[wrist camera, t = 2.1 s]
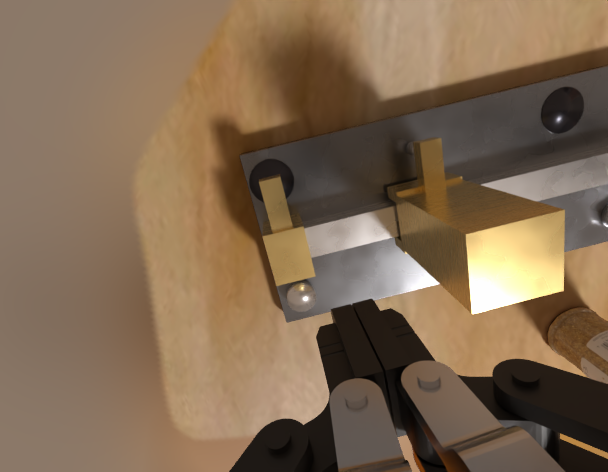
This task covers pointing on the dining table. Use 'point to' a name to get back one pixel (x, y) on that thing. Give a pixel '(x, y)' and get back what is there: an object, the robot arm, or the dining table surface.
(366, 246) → the metal base plate
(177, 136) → the dining table surface
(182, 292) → the dining table surface
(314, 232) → the beam
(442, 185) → the block
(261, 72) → the dining table surface
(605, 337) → the sprinkles bottle
